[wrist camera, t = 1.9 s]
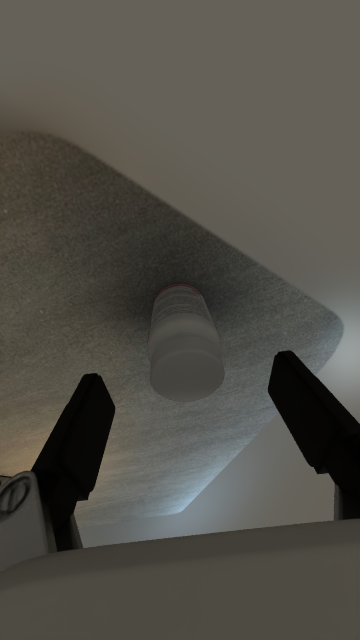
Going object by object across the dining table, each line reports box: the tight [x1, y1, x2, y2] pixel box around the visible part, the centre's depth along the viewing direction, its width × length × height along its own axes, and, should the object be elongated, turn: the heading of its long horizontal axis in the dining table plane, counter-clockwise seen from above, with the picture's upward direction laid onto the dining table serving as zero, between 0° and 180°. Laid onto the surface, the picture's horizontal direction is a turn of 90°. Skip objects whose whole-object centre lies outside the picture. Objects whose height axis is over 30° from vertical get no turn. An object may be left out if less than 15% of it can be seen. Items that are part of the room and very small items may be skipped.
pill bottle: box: [147, 284, 224, 402], centre depth 13 cm, size 5×5×8 cm
